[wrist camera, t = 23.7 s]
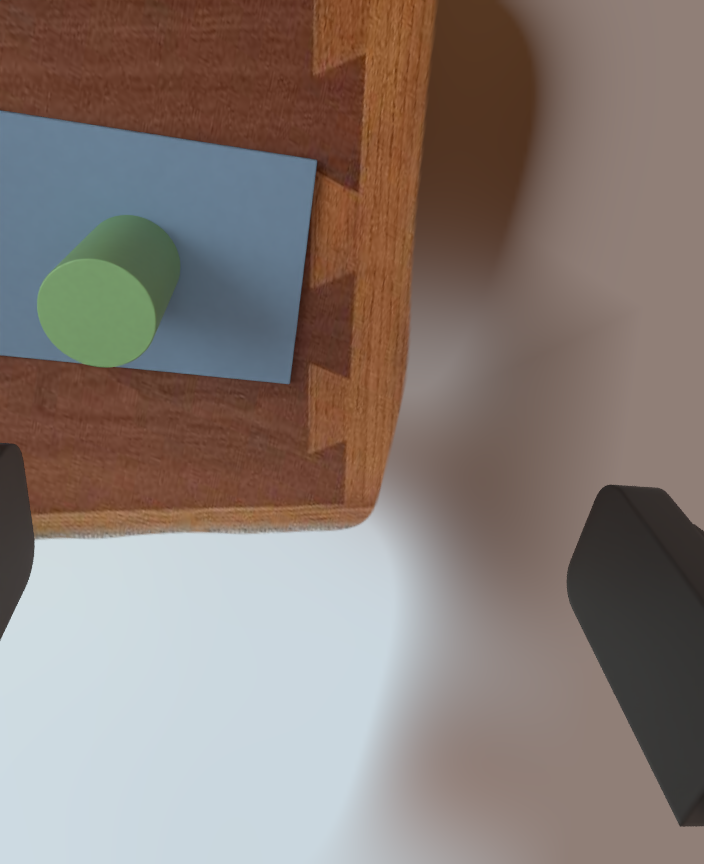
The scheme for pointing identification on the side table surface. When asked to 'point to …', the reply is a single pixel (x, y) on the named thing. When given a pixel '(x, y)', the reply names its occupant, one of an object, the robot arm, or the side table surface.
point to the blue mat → (180, 218)
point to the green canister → (110, 292)
